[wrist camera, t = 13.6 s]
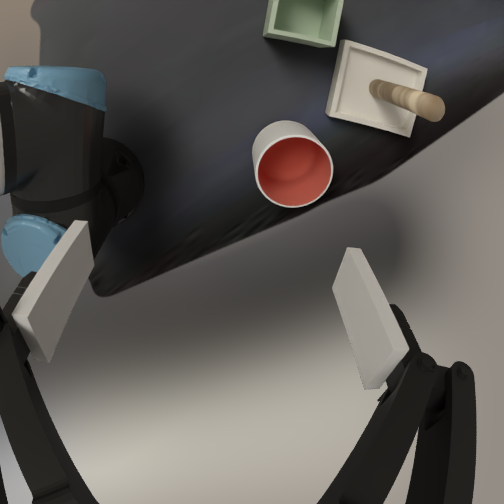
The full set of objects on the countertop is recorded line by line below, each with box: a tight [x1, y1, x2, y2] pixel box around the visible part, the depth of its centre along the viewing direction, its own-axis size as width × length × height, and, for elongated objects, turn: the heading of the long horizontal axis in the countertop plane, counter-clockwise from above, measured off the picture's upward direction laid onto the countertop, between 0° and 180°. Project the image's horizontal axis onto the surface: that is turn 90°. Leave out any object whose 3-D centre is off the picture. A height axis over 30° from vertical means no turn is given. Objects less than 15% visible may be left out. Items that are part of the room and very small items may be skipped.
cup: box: [252, 121, 333, 208], centre depth 43 cm, size 10×10×10 cm
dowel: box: [369, 79, 445, 122], centre depth 34 cm, size 3×3×16 cm
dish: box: [325, 40, 427, 137], centre depth 41 cm, size 14×12×2 cm
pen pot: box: [262, 0, 344, 48], centre depth 32 cm, size 8×8×8 cm
